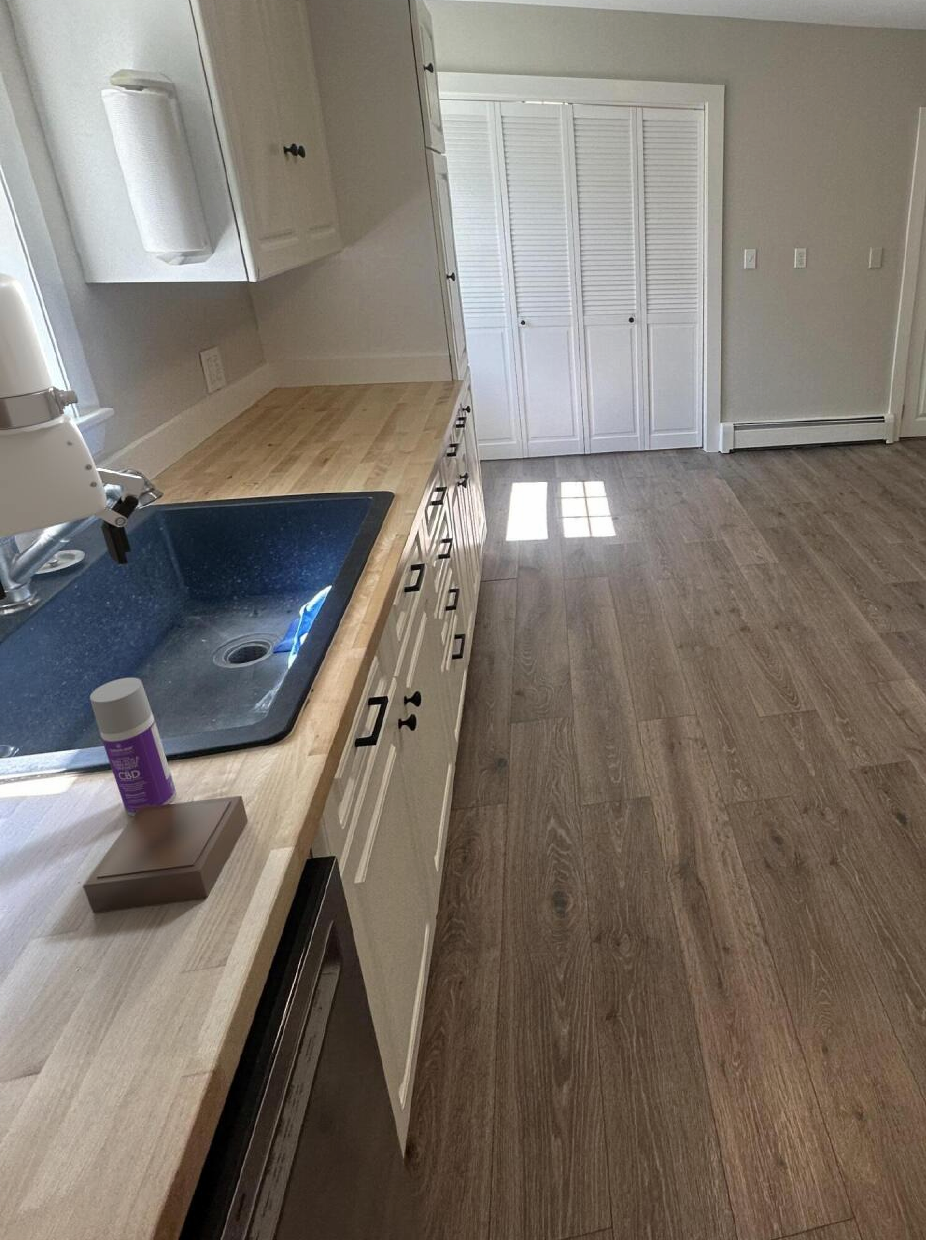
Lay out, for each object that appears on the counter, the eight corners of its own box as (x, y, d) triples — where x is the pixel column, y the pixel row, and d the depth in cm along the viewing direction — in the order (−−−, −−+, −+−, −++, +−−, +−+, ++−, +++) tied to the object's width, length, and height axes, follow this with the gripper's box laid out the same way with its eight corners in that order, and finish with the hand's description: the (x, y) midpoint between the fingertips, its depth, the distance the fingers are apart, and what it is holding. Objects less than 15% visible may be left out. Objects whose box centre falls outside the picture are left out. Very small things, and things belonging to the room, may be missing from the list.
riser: (92, 913, 70) (81, 885, 69) (147, 832, 79) (139, 806, 78) (207, 898, 72) (198, 870, 70) (248, 820, 81) (241, 794, 80)
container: (127, 823, 80) (88, 708, 75) (124, 798, 84) (87, 687, 79) (178, 803, 83) (144, 691, 78) (173, 780, 87) (141, 671, 82)
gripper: (107, 390, 77) (149, 540, 82) (-135, 424, 64) (-65, 599, 69) (132, 400, 72) (174, 557, 78) (-122, 439, 59) (-49, 624, 65)
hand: (61, 577), depth 74 cm, fingers open, 9 cm apart
